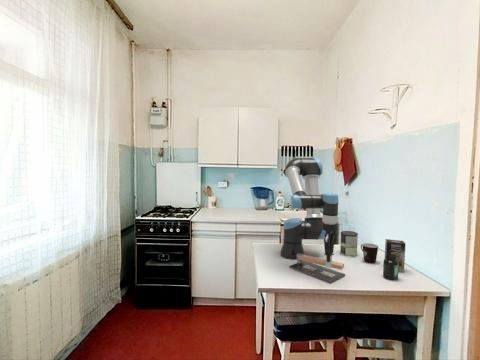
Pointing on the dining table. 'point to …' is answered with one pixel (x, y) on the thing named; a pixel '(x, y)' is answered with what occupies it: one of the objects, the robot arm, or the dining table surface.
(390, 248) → the coffee box
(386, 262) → the supplement bottle
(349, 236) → the coffee can
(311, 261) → the swing bar
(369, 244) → the coffee mug
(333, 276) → the label plate
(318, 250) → the dining table surface
